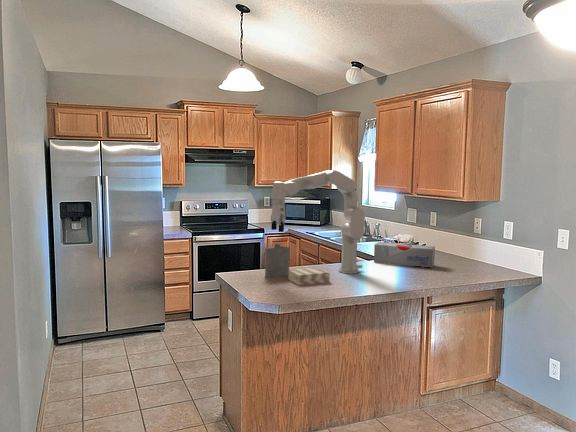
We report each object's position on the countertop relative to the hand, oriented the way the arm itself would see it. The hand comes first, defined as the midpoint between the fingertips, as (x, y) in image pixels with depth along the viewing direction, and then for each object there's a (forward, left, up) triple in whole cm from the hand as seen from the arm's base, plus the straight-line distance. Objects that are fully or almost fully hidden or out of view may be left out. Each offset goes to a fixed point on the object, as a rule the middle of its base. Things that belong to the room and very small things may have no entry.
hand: (277, 230), depth 285 cm
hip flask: (0, 0, -28) cm, 28 cm away
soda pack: (-100, +1, -28) cm, 104 cm away
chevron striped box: (-12, +18, -28) cm, 36 cm away
